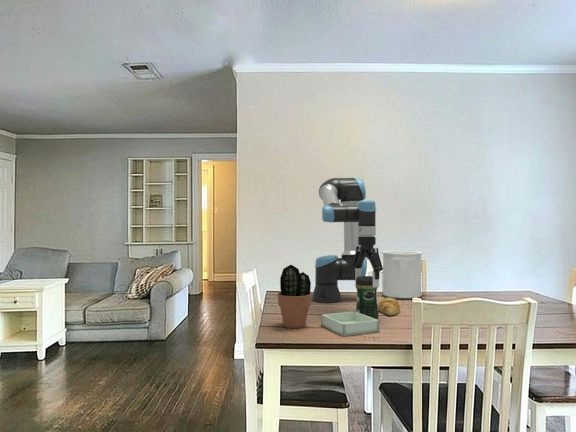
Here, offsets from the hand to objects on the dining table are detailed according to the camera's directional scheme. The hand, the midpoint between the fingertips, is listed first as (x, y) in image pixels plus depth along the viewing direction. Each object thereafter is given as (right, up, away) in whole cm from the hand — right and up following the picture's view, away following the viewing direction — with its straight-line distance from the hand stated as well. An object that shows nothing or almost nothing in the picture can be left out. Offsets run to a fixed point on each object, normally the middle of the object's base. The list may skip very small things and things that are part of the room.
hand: (366, 285), depth 204 cm
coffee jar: (0, -15, +1) cm, 15 cm away
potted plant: (-32, -15, -12) cm, 37 cm away
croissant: (+12, -15, +15) cm, 24 cm away
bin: (-10, -15, -17) cm, 25 cm away
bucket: (+28, -14, +53) cm, 62 cm away
